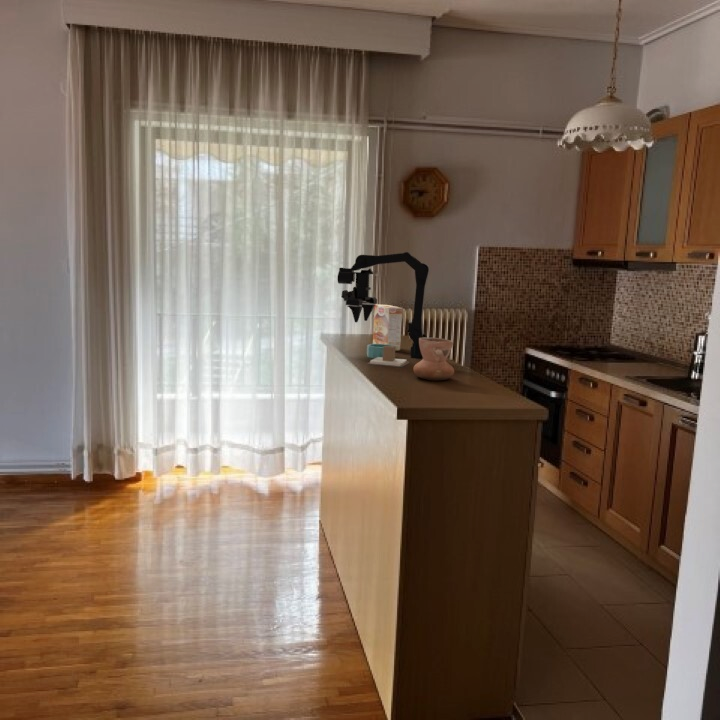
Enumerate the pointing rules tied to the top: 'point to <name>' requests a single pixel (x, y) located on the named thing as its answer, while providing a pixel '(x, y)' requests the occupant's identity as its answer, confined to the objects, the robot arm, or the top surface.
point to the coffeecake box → (387, 325)
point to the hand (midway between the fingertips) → (360, 321)
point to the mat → (390, 365)
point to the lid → (388, 357)
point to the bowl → (375, 350)
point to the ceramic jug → (434, 359)
